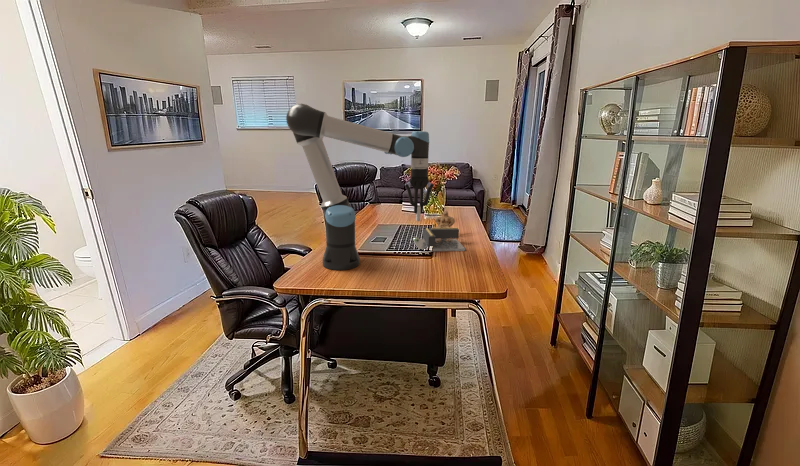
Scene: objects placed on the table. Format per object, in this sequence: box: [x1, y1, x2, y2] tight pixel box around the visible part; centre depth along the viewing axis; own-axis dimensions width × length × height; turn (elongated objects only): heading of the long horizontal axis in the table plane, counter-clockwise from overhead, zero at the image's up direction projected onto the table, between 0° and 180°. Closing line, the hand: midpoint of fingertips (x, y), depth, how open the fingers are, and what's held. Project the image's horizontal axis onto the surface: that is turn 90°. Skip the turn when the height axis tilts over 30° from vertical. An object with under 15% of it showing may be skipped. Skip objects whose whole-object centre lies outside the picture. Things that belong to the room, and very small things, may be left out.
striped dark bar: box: [422, 227, 436, 246], centre depth 179 cm, size 3×14×6 cm, turn 7°
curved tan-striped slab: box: [429, 227, 460, 240], centre depth 186 cm, size 3×14×6 cm, turn 97°
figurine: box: [434, 210, 456, 228], centre depth 199 cm, size 11×9×15 cm
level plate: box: [412, 236, 466, 252], centre depth 181 cm, size 22×16×2 cm
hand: (418, 220), depth 169 cm, fingers closed
